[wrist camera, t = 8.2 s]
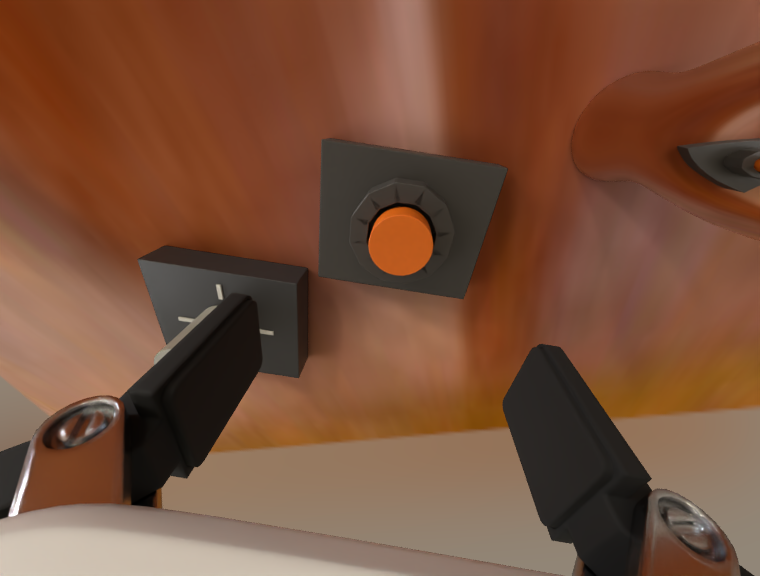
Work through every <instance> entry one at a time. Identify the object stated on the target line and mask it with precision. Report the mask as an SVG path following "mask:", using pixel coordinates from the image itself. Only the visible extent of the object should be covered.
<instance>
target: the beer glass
mask: <svg viewBox="0 0 760 576" xmlns="http://www.w3.org/2000/svg"><path fill="white" fill-rule="evenodd" d="M571 151H572V157H573V160H574V163H575V165H576V166H577V168H578V169H579V170H580V171H581V172H582V173H583V174H584V175H586V176H587V177H589V178H591V179H594V180H599V181H607V182H618V181H631V182H635V183H637V184H640V185H641V186H643V187H645V188H647V189H649V190H650V191H652V192H653V193H655V194H657V195H658V196H660V197H662V198H663V199H665V200H667V201H668V202H670V203H672V204H673V205H675V206H677V207H679V208H680V209H682V210H684V211H686V212H688V213H690V214H692V215H694V216H696V217H698V218H700V219H702V220H704V221H706V222H708V223H710V224H712V225H715V226H718V227H720V228H723V229H726V230H729V231H732V232H734V233H737V234H740V235H743V236H745V237H748V238H751V239H754V240H758V241H760V41H759V42H757V43H754V44H752V45H749V46H747V47H745V48H742V49H740V50H737V51H735V52H733V53H730V54H728V55H726V56H723V57H721V58H718V59H716V60H714V61H711V62H709V63H707V64H704V65H701V66H699V67H696V68H694V69H691V70H688V71H684V72H660V71H643V72H637V73H633V74H630V75H627V76H625V77H622V78H620V79H618V80H616V81H615V82H613V83H611V84H610V85H608V86H607V87H605V88H604V89H603V90H602V91H600V92H599V93H598V94H597V95H596V96H595V97H594V98H593V99H592V100H591V101H590V103H589V104H588V105H587V106H586V108H585V109H584V111H583V112H582V114H581V116H580V117H579V119H578V121H577V124H576V126H575V129H574V132H573V136H572V143H571Z"/></svg>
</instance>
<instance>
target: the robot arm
mask: <svg viewBox="0 0 760 576" xmlns="http://www.w3.org/2000/svg"><path fill="white" fill-rule="evenodd" d="M262 361H263V357H262V347H261V337H260V327H259V318H258V308H257V302H256V301H253V300H252V297H251V296H249V295H243V294H237V293H231V294H230V295H228V296H227V297H226V298H225V299H224V300H223V301H222V302H221V303H220V304H219V305H218V306H217V307H216V308H215V309H214V310H213V311H211V312H210V313H209V314H208V315H207V316H206V317H205V318H204V319H203V320H202V321H201V322H200V323H199V324H198V325H197V326H195V327H194V328H193V329H192V330H191V331H190V332H189V333H188V334H187V335H186V336H185V337H184V338H183V339H182V340H181V341H180V342H178V343H177V344H176V345H175V346H174V347H173V348H172V349H171V350H170V351H169V352H168V353H167V354H166V355H165V356H164V357H162V358H161V359H160V360H159V361H158V362H157V363H156V364H155V365H154V366H153V367H152V368H151V369H150V370H149V371H148V372H147V373H145V374H144V375H143V376H142V377H141V378H140V379H139V380H138V381H137V382H136V383H135V384H134V385H133V386H132V387H131V388H129V389H128V390H127V392H126V393H125V394H124V395H123V396H122V397H120V398H119V399H118V398H117V397H113V396H95V397H90V398H86V399H83V400H80V401H77V402H75V403H72V404H70V405H68V406H66V407H65V408H63V409H61V410H59V411H57V412H56V413H55V414H53V415H52V416H51V417H49V418H48V419H47V420H45V422H44V423H43V424H42V425H41V426H40V427H39V428H38V429H37V430H36V432H35V434H34V435H33V437H32V439H31V440H30V441H28V442H25V443H22V444H20V445H17V446H15V447H12V448H9V449H6V450H4V451H1V452H0V576H562V575H556V574H551V573H546V572H540V571H534V570H528V569H522V568H517V567H511V566H506V565H500V564H494V563H488V562H483V561H477V560H471V559H466V558H460V557H454V556H449V555H442V554H437V553H431V552H425V551H419V550H413V549H408V548H402V547H395V546H390V545H384V544H378V543H372V542H366V541H361V540H355V539H349V538H343V537H336V536H331V535H325V534H319V533H313V532H306V531H301V530H295V529H288V528H283V527H277V526H271V525H264V524H258V523H252V522H246V521H240V520H234V519H228V518H222V517H216V516H209V515H202V514H195V513H188V512H181V511H173V510H167V509H162V492H161V488H162V487H163V485H164V484H165V483H166V481H167V480H168V478H169V477H170V476H176V477H182V478H188V476H189V474H190V473H191V471H192V470H193V468H194V467H198V466H200V465H201V464H202V463H203V461H204V460H205V458H206V457H207V455H208V453H209V452H210V450H211V448H212V447H213V445H214V444H215V442H216V440H217V439H218V437H219V435H220V434H221V432H222V430H223V429H224V427H225V426H226V424H227V422H228V421H229V419H230V417H231V416H232V414H233V412H234V411H235V409H236V408H237V406H238V404H239V403H240V401H241V399H242V398H243V396H244V394H245V393H246V391H247V390H248V388H249V386H250V385H251V383H252V381H253V380H254V378H255V376H256V375H257V373H258V372H259V370H260V368H261V365H262ZM503 411H504V414H505V417H506V420H507V423H508V426H509V429H510V432H511V435H512V437H513V440H514V443H515V446H516V449H517V452H518V455H519V458H520V461H521V464H522V467H523V470H524V473H525V476H526V479H527V482H528V485H529V488H530V491H531V494H532V497H533V500H534V503H535V506H536V509H537V512H538V515H539V517H540V520H541V522H542V523H543V524H544V525H545V526H547V528H548V531H549V534H550V537H551V539H552V540H553V541H559V542H565V543H573V544H574V546H575V549H576V551H577V558H576V562H575V566H574V569H573V573H572V576H754V575H752V574H751V573H750V572H748V571H747V570H746V569H744V568H743V567H742V566H740V565H739V562H738V558H737V555H736V552H735V549H734V547H733V545H732V544H731V542H730V540H729V539H728V537H727V536H726V534H725V533H724V532H723V531H722V530H721V528H720V527H719V526H718V525H717V523H716V522H715V521H714V520H713V519H712V518H710V517H709V516H708V515H707V514H706V513H705V512H704V511H703V510H702V509H701V508H699V507H698V506H696V505H695V504H694V503H692V502H691V501H690V500H688V499H686V498H685V497H683V496H681V495H679V494H678V493H675V492H672V491H670V490H667V489H655V490H653V491H652V490H651V488H650V487H649V485H648V484H647V482H649V481H650V480H651V479H652V478H651V477H650V476H649V474H648V473H647V471H646V470H645V468H644V467H643V466H642V464H641V463H640V461H639V460H638V458H637V457H636V456H635V454H634V453H633V451H632V450H631V448H630V447H629V446H628V444H627V442H626V441H625V439H624V438H623V437H622V435H621V434H620V432H619V431H618V429H617V428H616V426H615V425H614V424H613V422H612V421H611V419H610V418H609V416H608V415H607V413H606V412H605V411H604V409H603V408H602V406H601V405H600V403H599V402H598V400H597V399H596V398H595V396H594V395H593V393H592V392H591V390H590V389H589V387H588V386H587V385H586V383H585V382H584V380H583V379H582V377H581V376H580V374H579V373H578V371H577V370H576V369H575V367H574V366H573V364H572V363H571V361H570V360H569V358H568V357H567V356H566V354H565V353H564V351H563V350H562V349H561V348H560V347H557V346H551V345H545V344H539V345H538V346H537V347H534V348H532V349H531V351H530V352H529V354H528V356H527V358H526V360H525V361H524V363H523V365H522V367H521V369H520V370H519V372H518V374H517V376H516V378H515V379H514V381H513V383H512V385H511V387H510V388H509V390H508V392H507V394H506V396H505V397H504V400H503Z"/></svg>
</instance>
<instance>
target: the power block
mask: <svg viewBox="0 0 760 576" xmlns="http://www.w3.org/2000/svg"><path fill="white" fill-rule="evenodd" d="M507 170H508V168H506V167H503V166H501V165H499V164H493V163H487V162H480V161H474V160H468V159H461V158H455V157H448V156H442V155H435V154H429V153H423V152H416V151H410V150H403V149H397V148H390V147H384V146H377V145H371V144H365V143H358V142H352V141H345V140H339V139H332V138H328V139H322V145H321V188H320V230H319V273H318V276H319V277H325V278H331V279H338V280H344V281H350V282H357V283H363V284H369V285H376V286H382V287H389V288H395V289H401V290H408V291H414V292H421V293H427V294H433V295H440V296H446V297H452V298H459V299H464V296H465V293H466V290H467V287H468V285H469V282H470V279H471V276H472V273H473V270H474V267H475V264H476V261H477V258H478V255H479V252H480V249H481V246H482V243H483V241H484V238H485V235H486V232H487V229H488V226H489V223H490V220H491V217H492V214H493V211H494V208H495V205H496V202H497V199H498V196H499V194H500V191H501V188H502V185H503V182H504V179H505V176H506V173H507ZM402 206H403V207H409V208H412V209H415V210H417V211H418V212H420V213H421V214H422V215H423V216H424V217H425V218H426V220H427V221H428V224H429V226H430V230H431V234H432V238H433V252H432V255H431V257H430V259H429V261H428V262H427V264H426V265H425V266H424V267H423V268H422V269H420V270H419V271H417V272H415V273H412V274H409V275H404V276H398V275H392V274H389V273H387V272H384V271H383V270H381V269H380V268H379V267H378V266H377V265H376V264H375V263H374V261H373V260H372V258H371V256H370V253H369V246H368V245H369V238H370V235H371V232H372V229H373V226H374V223H375V221H376V220H377V218H378V217H379V216H380V215H381V214H382V213H383V212H385V211H386V210H388V209H391V208H394V207H402Z"/></svg>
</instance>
